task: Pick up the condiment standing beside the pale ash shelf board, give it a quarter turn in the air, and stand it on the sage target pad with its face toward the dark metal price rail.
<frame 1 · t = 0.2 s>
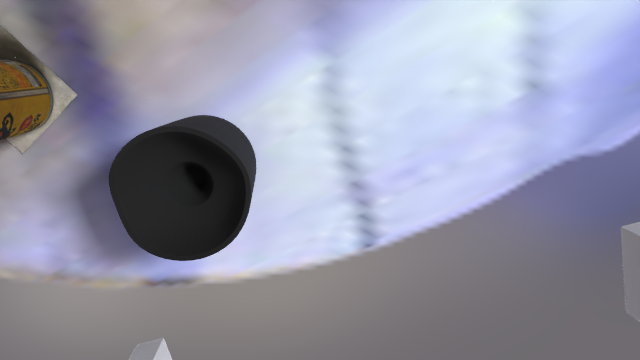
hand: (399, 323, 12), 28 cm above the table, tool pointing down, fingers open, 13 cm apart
pen holder: (208, 162, 39), on the table
condiment: (10, 87, 37), on the table
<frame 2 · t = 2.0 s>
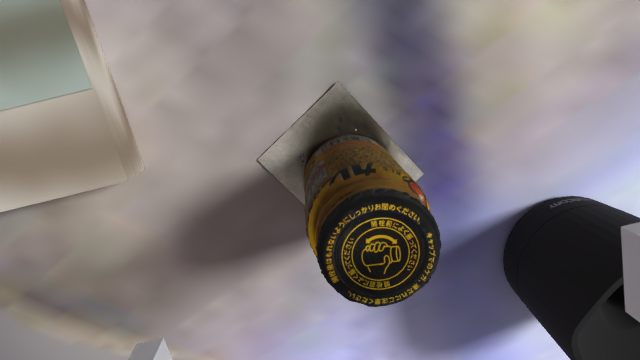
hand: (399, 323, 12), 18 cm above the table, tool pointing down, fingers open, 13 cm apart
pen holder: (557, 249, 32), on the table
condiment: (341, 165, 29), on the table
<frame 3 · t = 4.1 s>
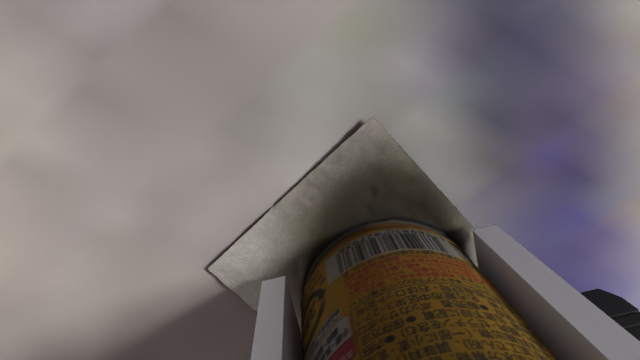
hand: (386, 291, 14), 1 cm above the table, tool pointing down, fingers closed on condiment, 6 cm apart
condiment: (372, 275, 15), on the table, touching gripper
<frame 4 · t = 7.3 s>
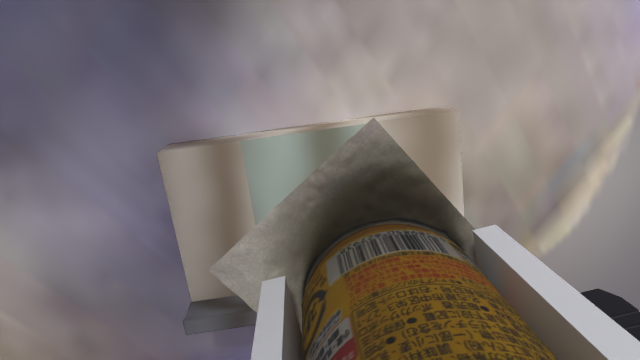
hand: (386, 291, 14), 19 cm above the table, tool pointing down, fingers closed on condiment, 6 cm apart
shelf board: (318, 203, 33), on the table
condiment: (373, 275, 15), point 18 cm above the table, touching gripper
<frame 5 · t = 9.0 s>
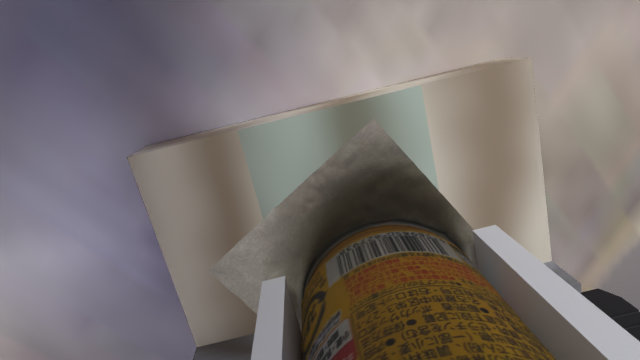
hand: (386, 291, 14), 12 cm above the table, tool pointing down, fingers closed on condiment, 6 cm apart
shelf board: (347, 203, 26), on the table
condiment: (372, 276, 15), point 10 cm above the table, touching gripper
when the fingers open (5 cm above the table, at t = 10.5 s): condiment drops 1 cm, resting on shelf board.
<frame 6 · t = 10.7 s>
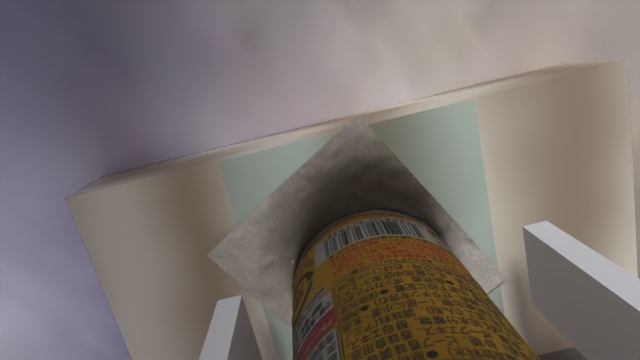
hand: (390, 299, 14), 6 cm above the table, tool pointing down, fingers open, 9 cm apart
shelf board: (366, 249, 20), on the table
condiment: (359, 261, 16), point 3 cm above the table, touching shelf board
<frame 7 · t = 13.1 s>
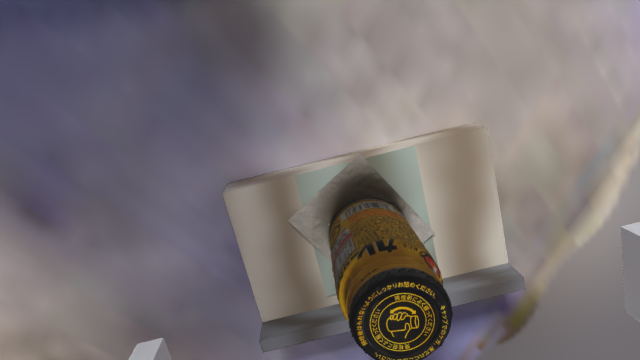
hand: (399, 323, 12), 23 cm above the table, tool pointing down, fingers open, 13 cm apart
shelf board: (365, 222, 36), on the table
condiment: (361, 224, 33), point 3 cm above the table, touching shelf board
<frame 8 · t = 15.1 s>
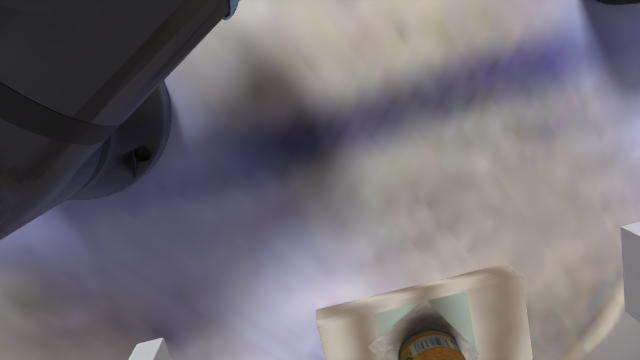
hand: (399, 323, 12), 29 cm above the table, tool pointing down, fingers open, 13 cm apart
shelf board: (421, 336, 46), on the table
condiment: (422, 347, 43), point 3 cm above the table, touching shelf board
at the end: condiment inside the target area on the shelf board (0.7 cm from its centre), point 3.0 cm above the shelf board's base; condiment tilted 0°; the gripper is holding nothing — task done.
